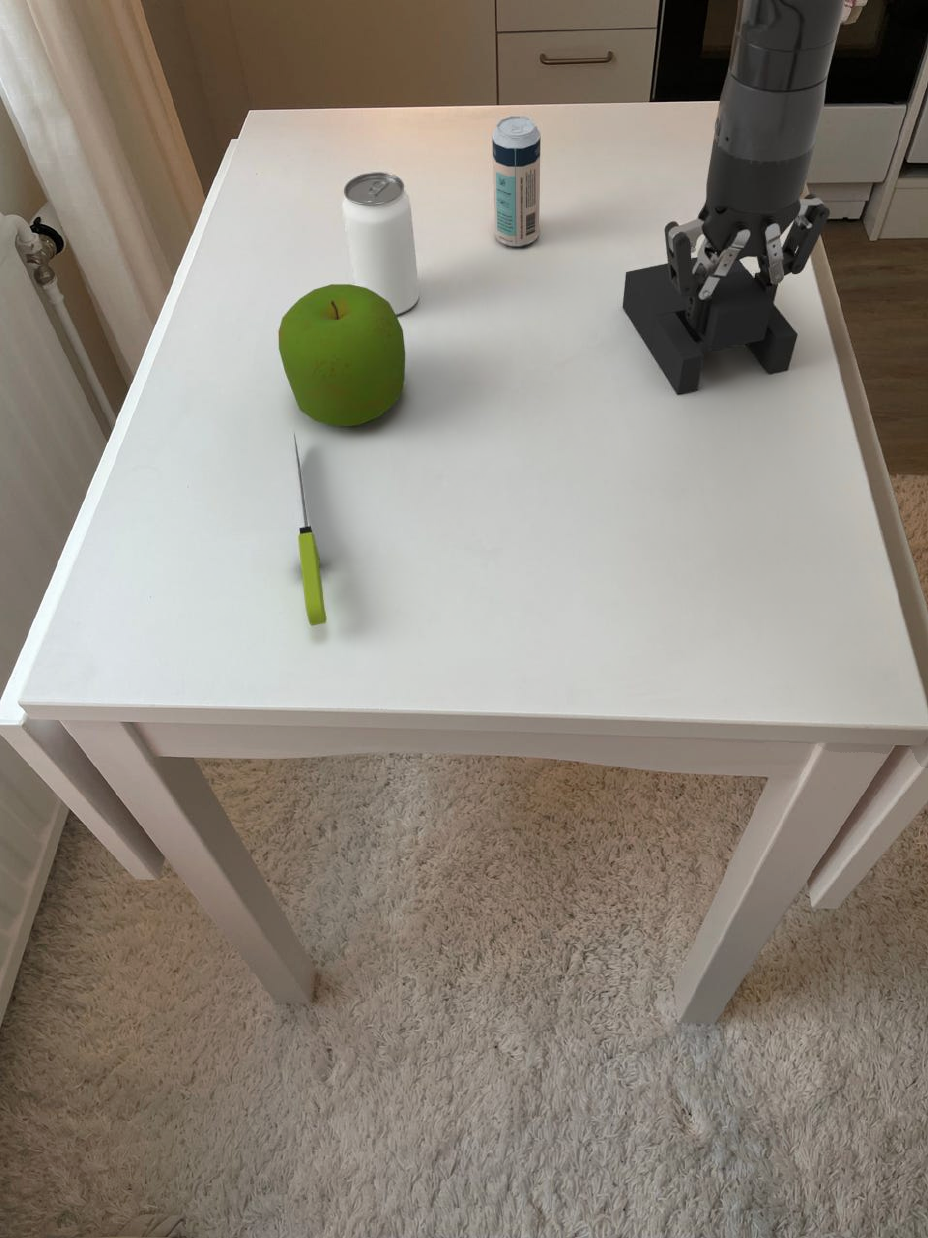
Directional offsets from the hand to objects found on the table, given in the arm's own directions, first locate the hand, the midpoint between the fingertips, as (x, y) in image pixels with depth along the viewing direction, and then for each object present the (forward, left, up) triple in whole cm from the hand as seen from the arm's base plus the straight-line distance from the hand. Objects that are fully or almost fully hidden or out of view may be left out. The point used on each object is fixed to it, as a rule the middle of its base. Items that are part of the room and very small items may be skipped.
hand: (727, 320), depth 86 cm
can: (+34, +3, -5) cm, 34 cm away
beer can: (+26, -12, -5) cm, 29 cm away
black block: (0, 0, -1) cm, 1 cm away
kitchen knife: (+25, +34, -5) cm, 42 cm away
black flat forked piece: (+2, -3, -5) cm, 6 cm away
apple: (+30, +18, -5) cm, 35 cm away
